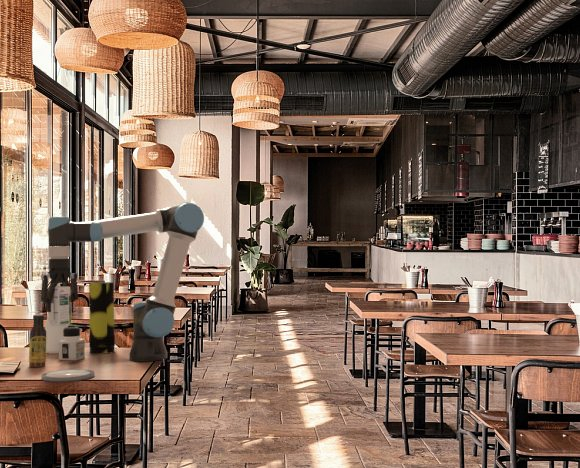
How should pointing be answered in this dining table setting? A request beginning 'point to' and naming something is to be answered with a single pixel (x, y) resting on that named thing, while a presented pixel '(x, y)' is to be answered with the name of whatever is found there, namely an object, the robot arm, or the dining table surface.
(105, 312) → the container
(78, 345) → the container
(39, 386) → the dining table surface
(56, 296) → the syrup box
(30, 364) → the sauce bottle
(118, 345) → the dining table surface
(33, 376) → the dining table surface
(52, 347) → the wine bottle
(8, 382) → the dining table surface
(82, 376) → the dish
